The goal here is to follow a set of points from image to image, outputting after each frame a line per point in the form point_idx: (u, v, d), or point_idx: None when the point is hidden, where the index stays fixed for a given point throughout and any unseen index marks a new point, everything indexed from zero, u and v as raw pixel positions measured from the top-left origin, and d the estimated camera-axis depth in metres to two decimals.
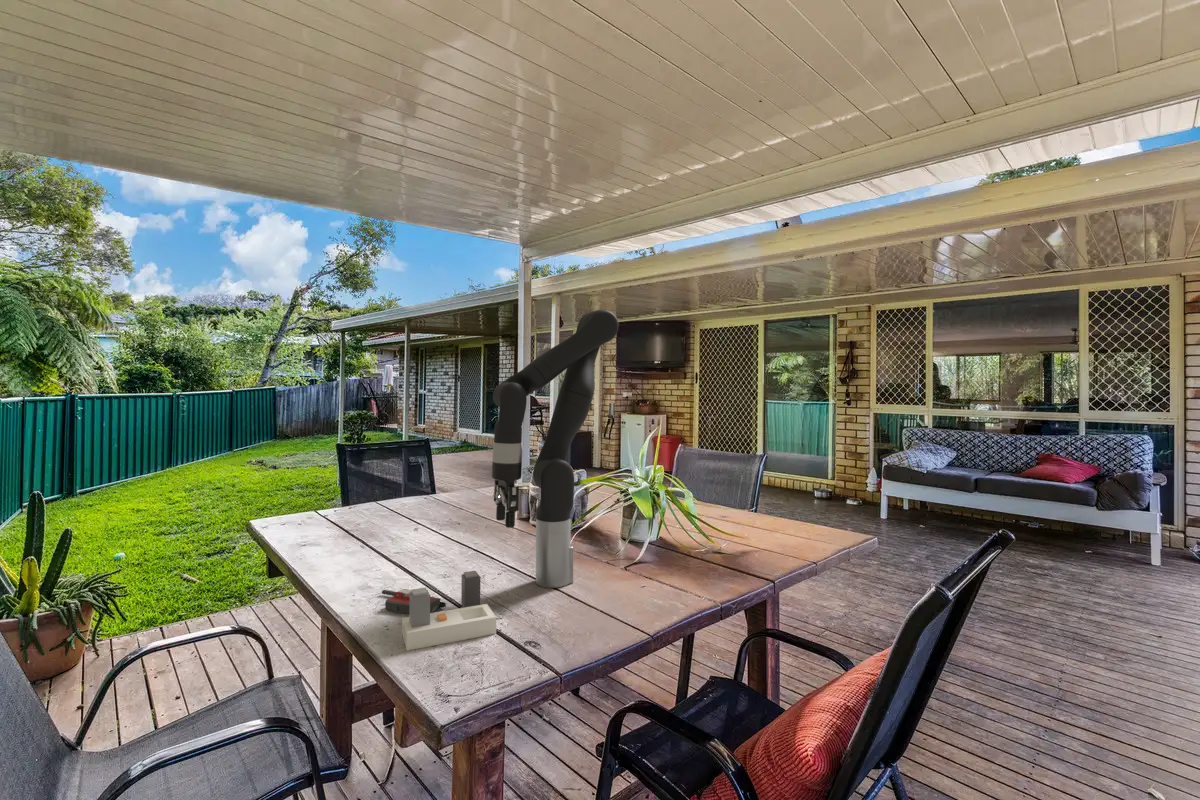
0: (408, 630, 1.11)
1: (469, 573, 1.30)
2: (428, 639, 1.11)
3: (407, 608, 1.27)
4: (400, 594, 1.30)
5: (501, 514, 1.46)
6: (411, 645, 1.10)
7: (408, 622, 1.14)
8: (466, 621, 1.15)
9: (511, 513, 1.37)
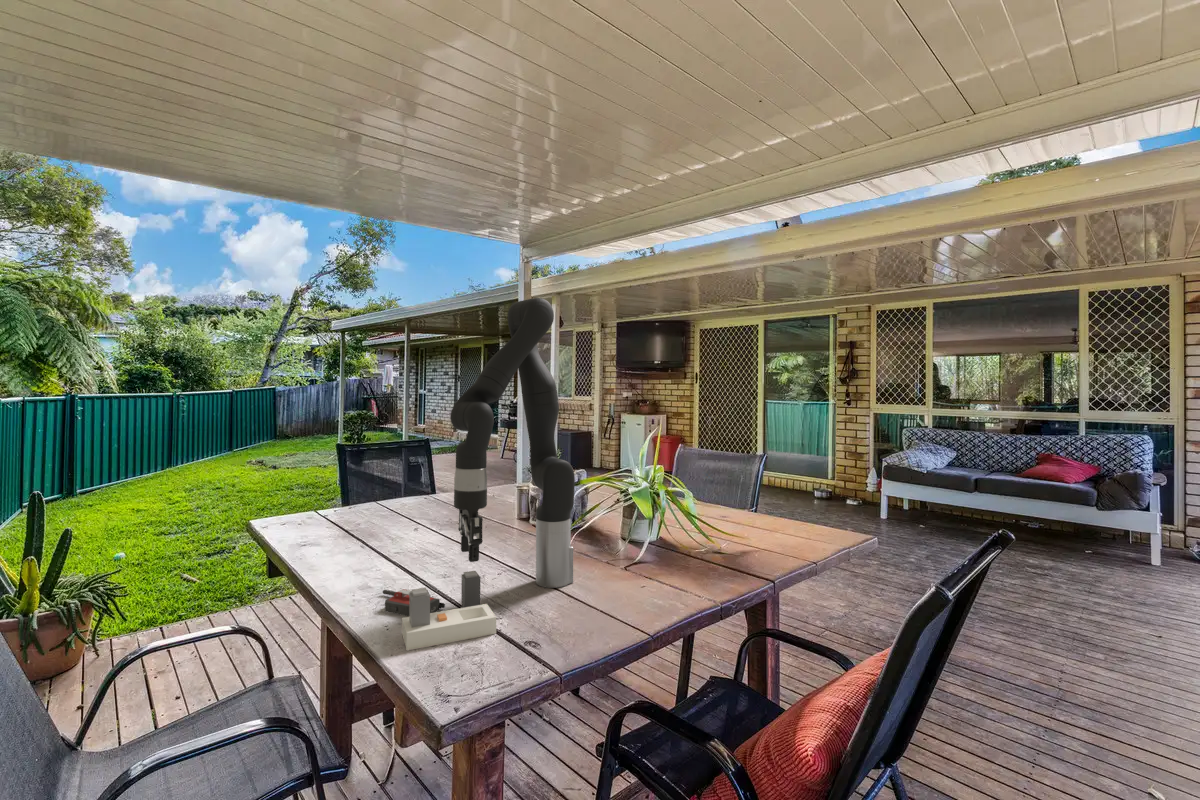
0: (408, 630, 1.11)
1: (469, 573, 1.30)
2: (428, 639, 1.11)
3: (406, 608, 1.26)
4: (399, 594, 1.30)
5: (466, 546, 1.33)
6: (411, 645, 1.10)
7: (408, 622, 1.14)
8: (466, 621, 1.15)
9: (474, 546, 1.25)
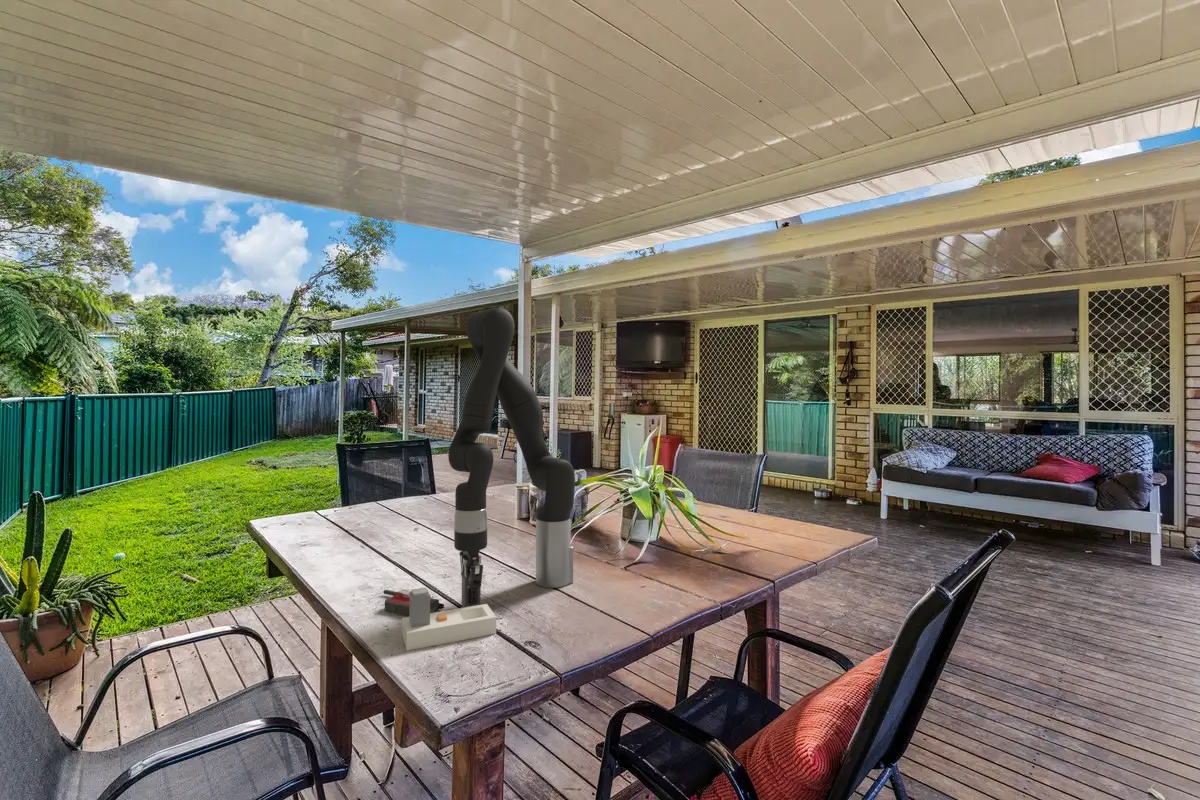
0: (408, 630, 1.11)
1: (469, 573, 1.30)
2: (428, 639, 1.11)
3: (405, 609, 1.26)
4: (399, 594, 1.29)
5: None
6: (411, 645, 1.10)
7: (408, 622, 1.14)
8: (466, 621, 1.15)
9: (473, 589, 1.27)
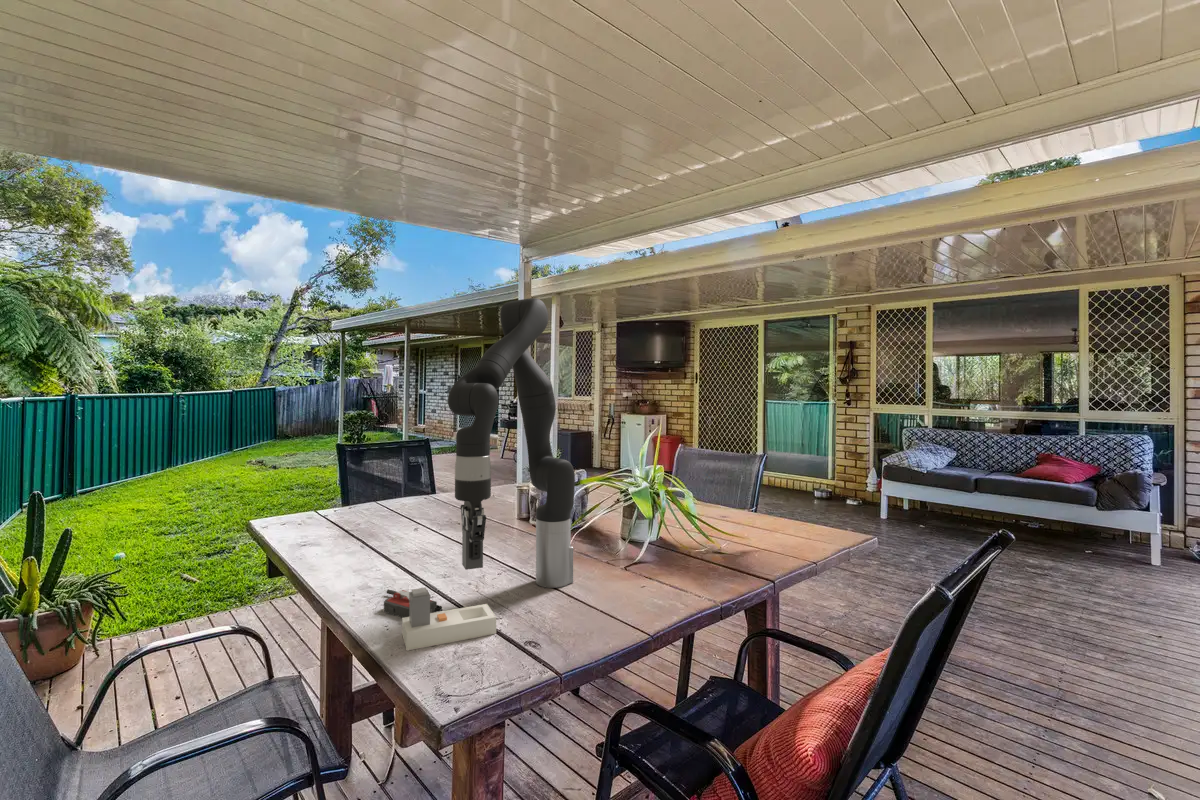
0: (408, 630, 1.11)
1: (471, 526, 1.19)
2: (428, 639, 1.11)
3: (402, 610, 1.25)
4: (398, 595, 1.29)
5: None
6: (411, 645, 1.10)
7: (408, 622, 1.14)
8: (466, 621, 1.15)
9: (475, 543, 1.16)
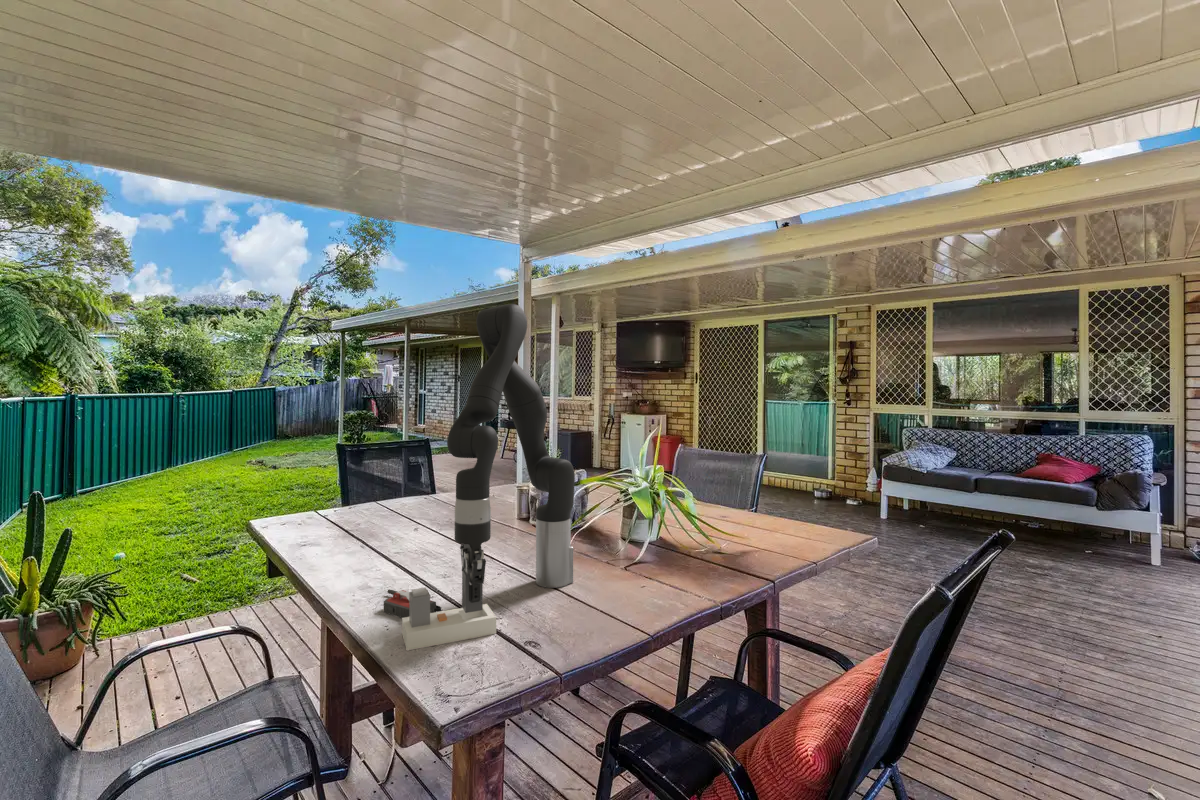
0: (408, 630, 1.11)
1: (470, 568, 1.19)
2: (428, 639, 1.11)
3: (401, 610, 1.25)
4: (398, 595, 1.29)
5: None
6: (411, 645, 1.10)
7: (408, 622, 1.14)
8: (466, 621, 1.15)
9: (475, 586, 1.16)
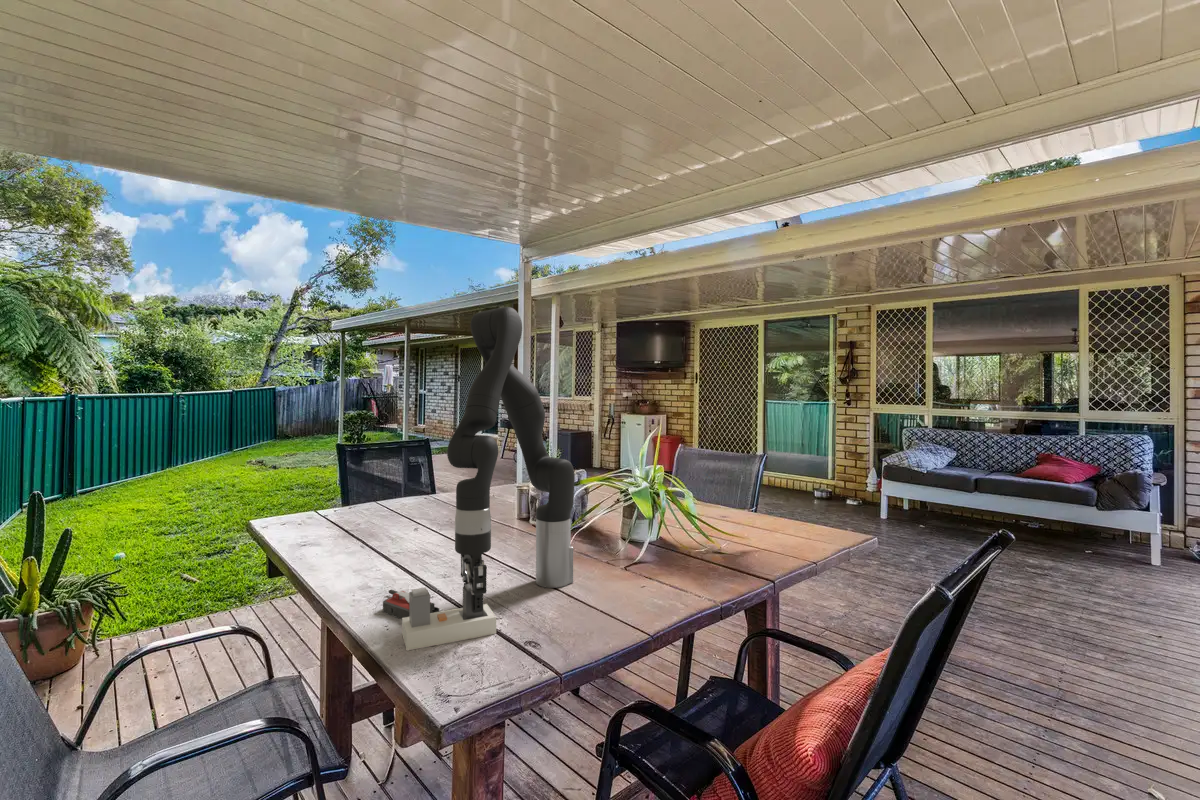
0: (408, 630, 1.11)
1: None
2: (428, 639, 1.11)
3: (399, 611, 1.25)
4: (397, 596, 1.29)
5: None
6: (411, 645, 1.10)
7: (408, 622, 1.14)
8: (466, 621, 1.15)
9: (478, 596, 1.15)
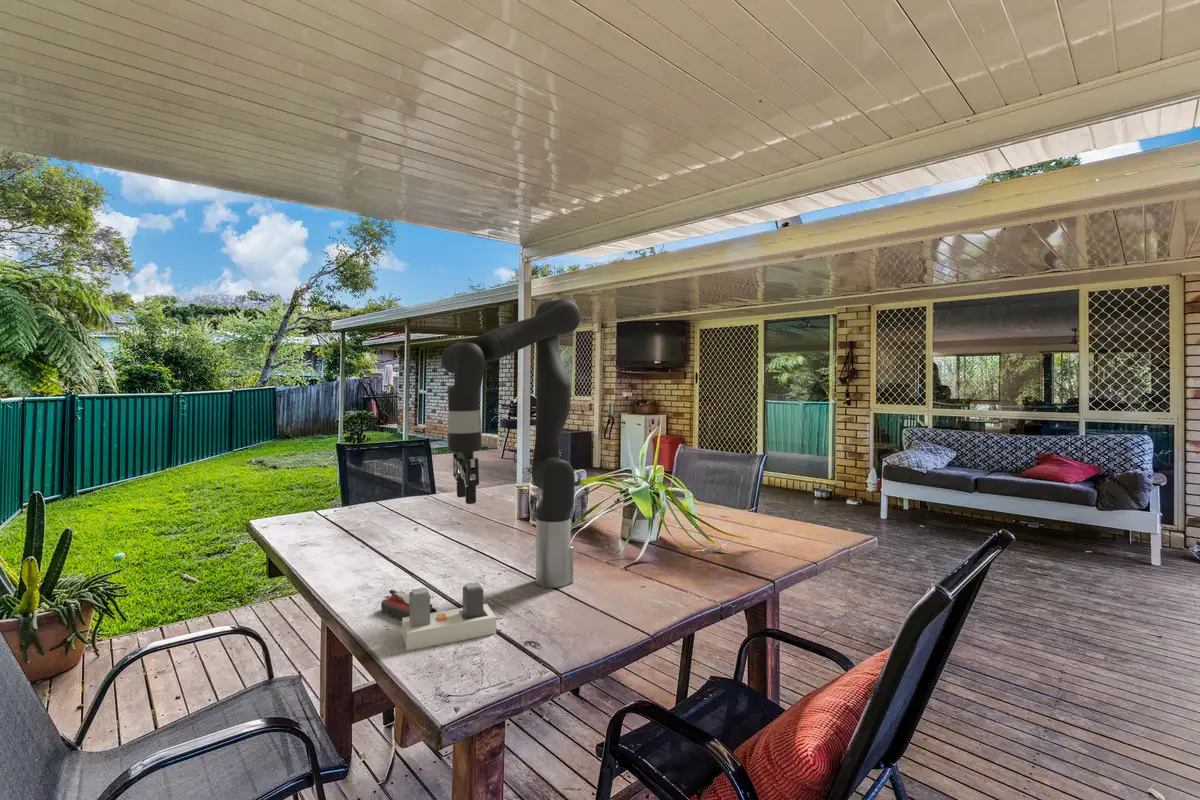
0: (408, 630, 1.11)
1: (471, 585, 1.19)
2: (428, 639, 1.11)
3: (397, 612, 1.24)
4: (395, 596, 1.28)
5: (462, 491, 1.32)
6: (411, 645, 1.10)
7: (408, 622, 1.14)
8: (466, 621, 1.15)
9: (471, 488, 1.23)
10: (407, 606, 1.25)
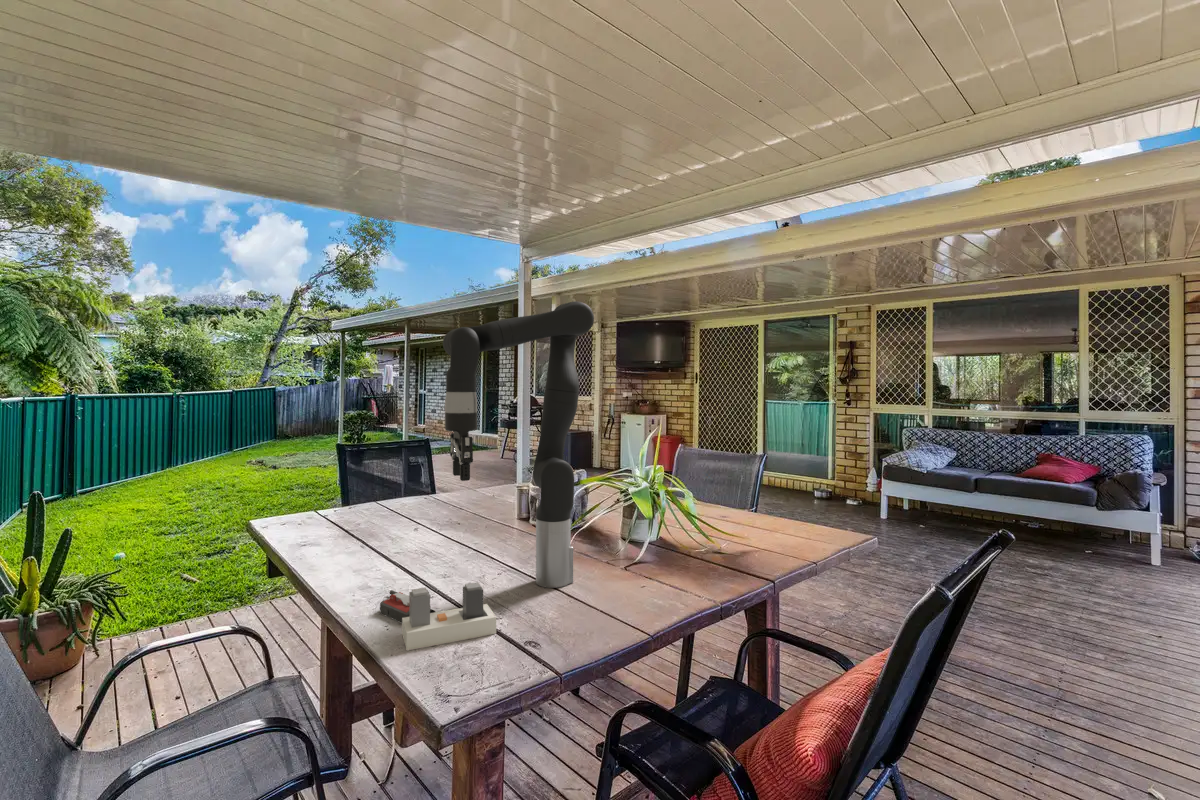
0: (408, 630, 1.11)
1: (471, 585, 1.19)
2: (428, 639, 1.11)
3: (395, 613, 1.24)
4: (394, 597, 1.28)
5: (457, 470, 1.38)
6: (411, 645, 1.10)
7: (408, 622, 1.14)
8: (466, 621, 1.15)
9: (465, 465, 1.29)
10: (405, 607, 1.24)
